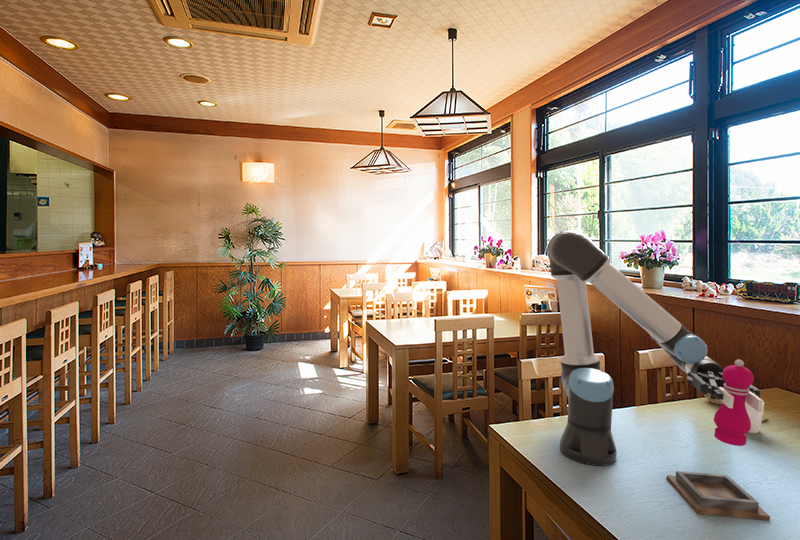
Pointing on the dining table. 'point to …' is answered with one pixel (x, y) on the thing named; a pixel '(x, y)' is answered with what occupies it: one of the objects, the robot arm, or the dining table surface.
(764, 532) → the dining table surface
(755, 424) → the white cup
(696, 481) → the cruet board
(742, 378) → the pepper mill
